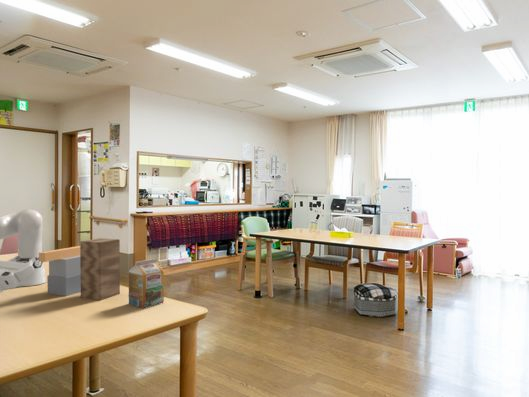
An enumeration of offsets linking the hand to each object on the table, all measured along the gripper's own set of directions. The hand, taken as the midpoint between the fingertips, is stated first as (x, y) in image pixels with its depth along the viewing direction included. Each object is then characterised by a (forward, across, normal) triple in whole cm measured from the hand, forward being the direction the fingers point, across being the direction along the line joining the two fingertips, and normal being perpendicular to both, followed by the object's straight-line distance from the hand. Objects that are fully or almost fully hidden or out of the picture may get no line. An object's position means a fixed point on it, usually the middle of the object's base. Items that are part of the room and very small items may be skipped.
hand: (26, 257), depth 174 cm
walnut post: (+9, +20, -28) cm, 36 cm away
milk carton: (+8, +48, -28) cm, 56 cm away
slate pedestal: (+8, 0, -28) cm, 29 cm away
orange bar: (+15, 0, -12) cm, 20 cm away
